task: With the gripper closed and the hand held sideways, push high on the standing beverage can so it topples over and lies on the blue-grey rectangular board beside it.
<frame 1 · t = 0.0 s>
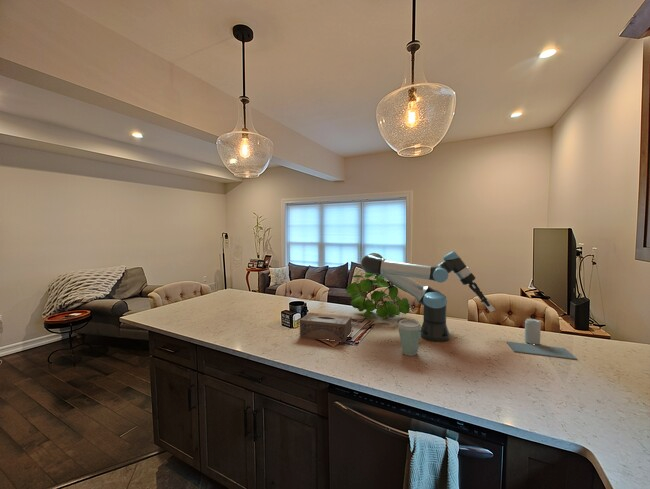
hand: (489, 307, 150), 15 cm above the kitchen island, tool tilted 35°, fingers open, 13 cm apart
tissue box cover: (326, 335, 151), on the kitchen island
disposable coffee cup: (409, 353, 128), on the kitchen island
beverage can: (532, 343, 139), on the kitchen island
blue-grey rectangular board: (539, 350, 130), on the kitchen island
indoor plant: (376, 314, 189), on the kitchen island
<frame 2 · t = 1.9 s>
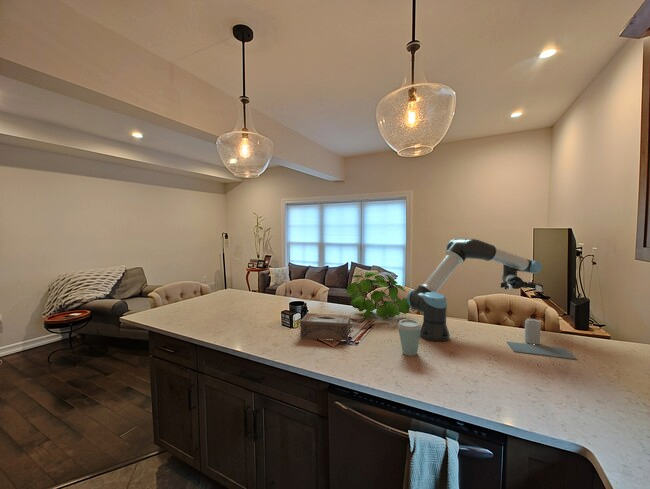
hand: (525, 288, 148), 26 cm above the kitchen island, tool horizontal, fingers open, 13 cm apart
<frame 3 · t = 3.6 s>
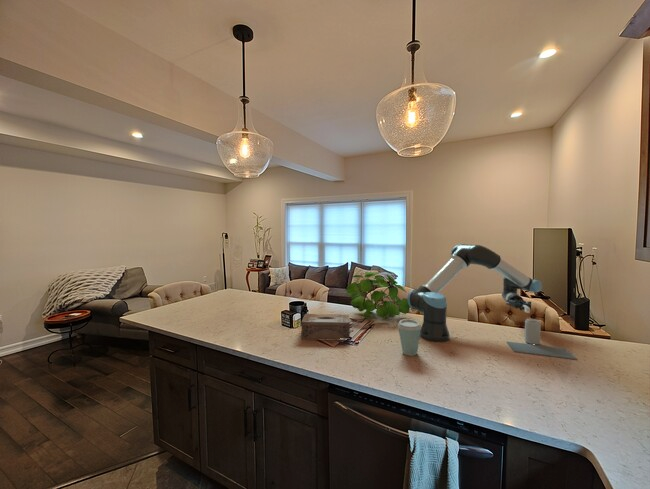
hand: (528, 310, 146), 15 cm above the kitchen island, tool horizontal, fingers closed
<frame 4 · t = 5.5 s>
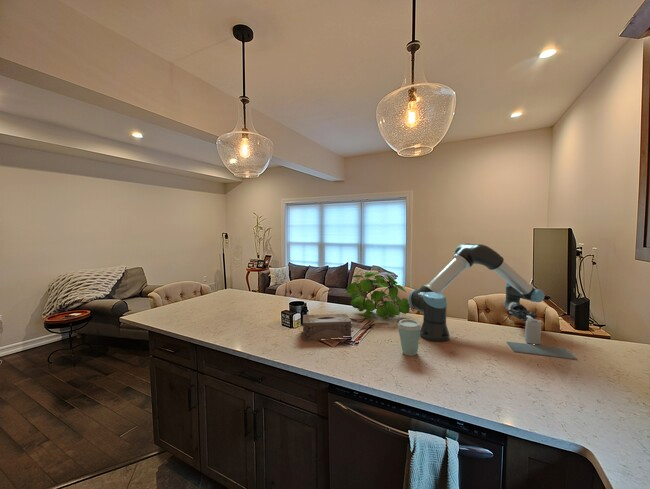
hand: (532, 321, 141), 10 cm above the kitchen island, tool horizontal, fingers closed
beverage can: (532, 342, 139), on the kitchen island, touching gripper
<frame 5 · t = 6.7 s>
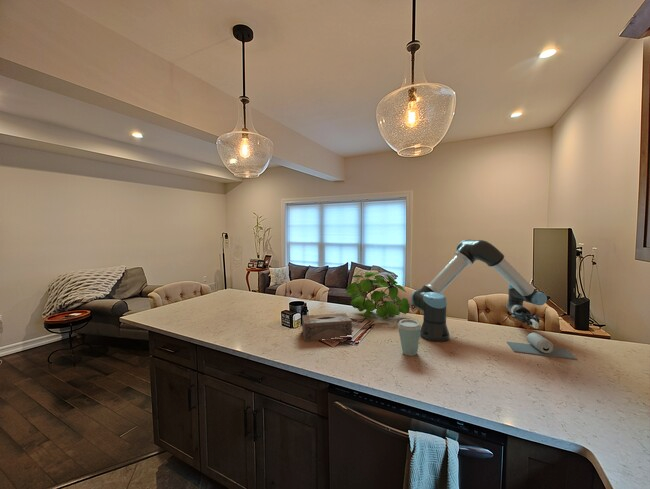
hand: (536, 325, 135), 10 cm above the kitchen island, tool horizontal, fingers closed
beverage can: (533, 338, 137), point 3 cm above the kitchen island, touching blue-grey rectangular board
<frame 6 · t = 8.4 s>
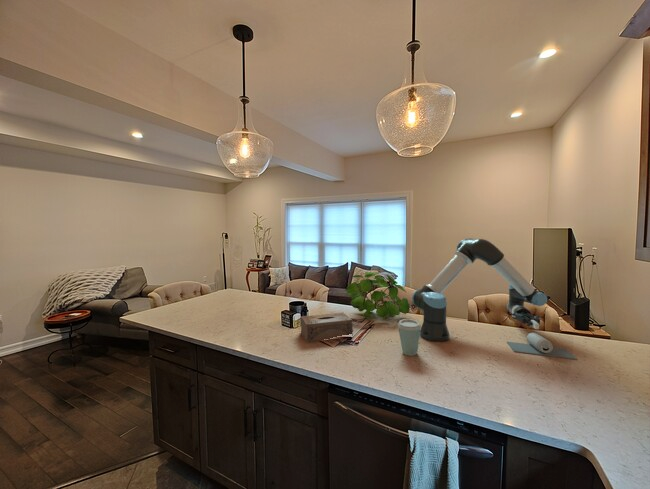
hand: (537, 326, 133), 11 cm above the kitchen island, tool horizontal, fingers closed
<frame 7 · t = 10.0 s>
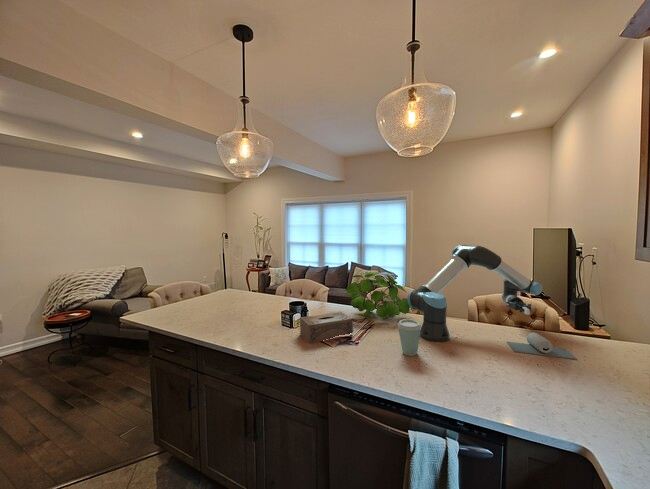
hand: (528, 312, 145), 14 cm above the kitchen island, tool horizontal, fingers closed
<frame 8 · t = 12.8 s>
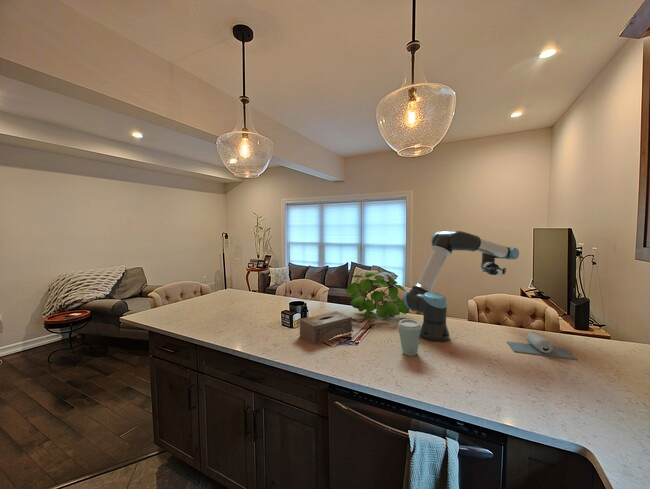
hand: (500, 273, 152), 34 cm above the kitchen island, tool horizontal, fingers closed
at the end: beverage can tilted 88°; beverage can 7.2 cm from the blue-grey rectangular board (horizontally); the gripper is holding nothing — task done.
